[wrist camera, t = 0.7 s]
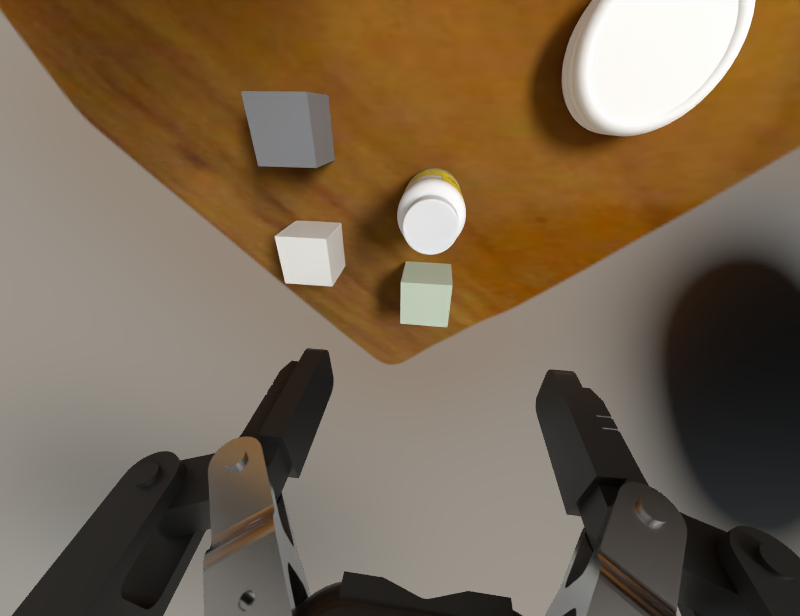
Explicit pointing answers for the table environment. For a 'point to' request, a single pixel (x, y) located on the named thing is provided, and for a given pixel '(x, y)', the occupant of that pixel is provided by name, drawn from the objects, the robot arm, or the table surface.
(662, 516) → the robot arm
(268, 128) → the medium grey block
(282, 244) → the pale grey block
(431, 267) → the sage block
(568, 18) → the table surface
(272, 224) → the table surface
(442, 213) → the supplement bottle
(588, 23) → the coaster
